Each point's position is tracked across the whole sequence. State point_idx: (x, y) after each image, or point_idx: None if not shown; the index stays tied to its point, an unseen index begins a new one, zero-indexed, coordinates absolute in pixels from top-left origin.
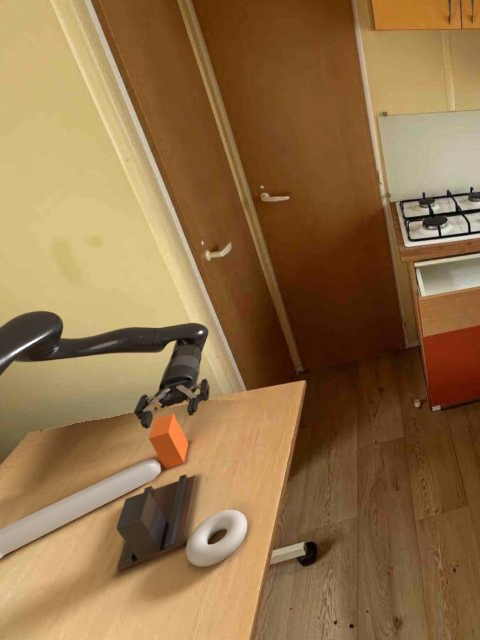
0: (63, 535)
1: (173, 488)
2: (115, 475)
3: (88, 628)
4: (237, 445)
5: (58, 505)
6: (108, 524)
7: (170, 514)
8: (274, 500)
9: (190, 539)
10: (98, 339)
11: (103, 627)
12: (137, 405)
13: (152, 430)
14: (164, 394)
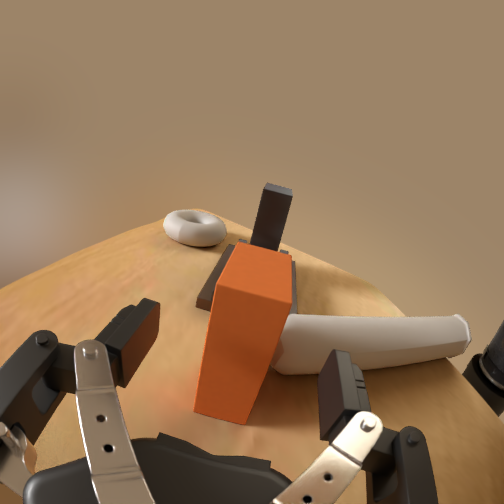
0: None
1: None
2: (354, 327)
3: (304, 253)
4: (99, 316)
5: (417, 321)
6: None
7: None
8: (127, 231)
9: (220, 225)
10: None
11: (292, 248)
12: (431, 478)
13: (288, 268)
14: (274, 500)
